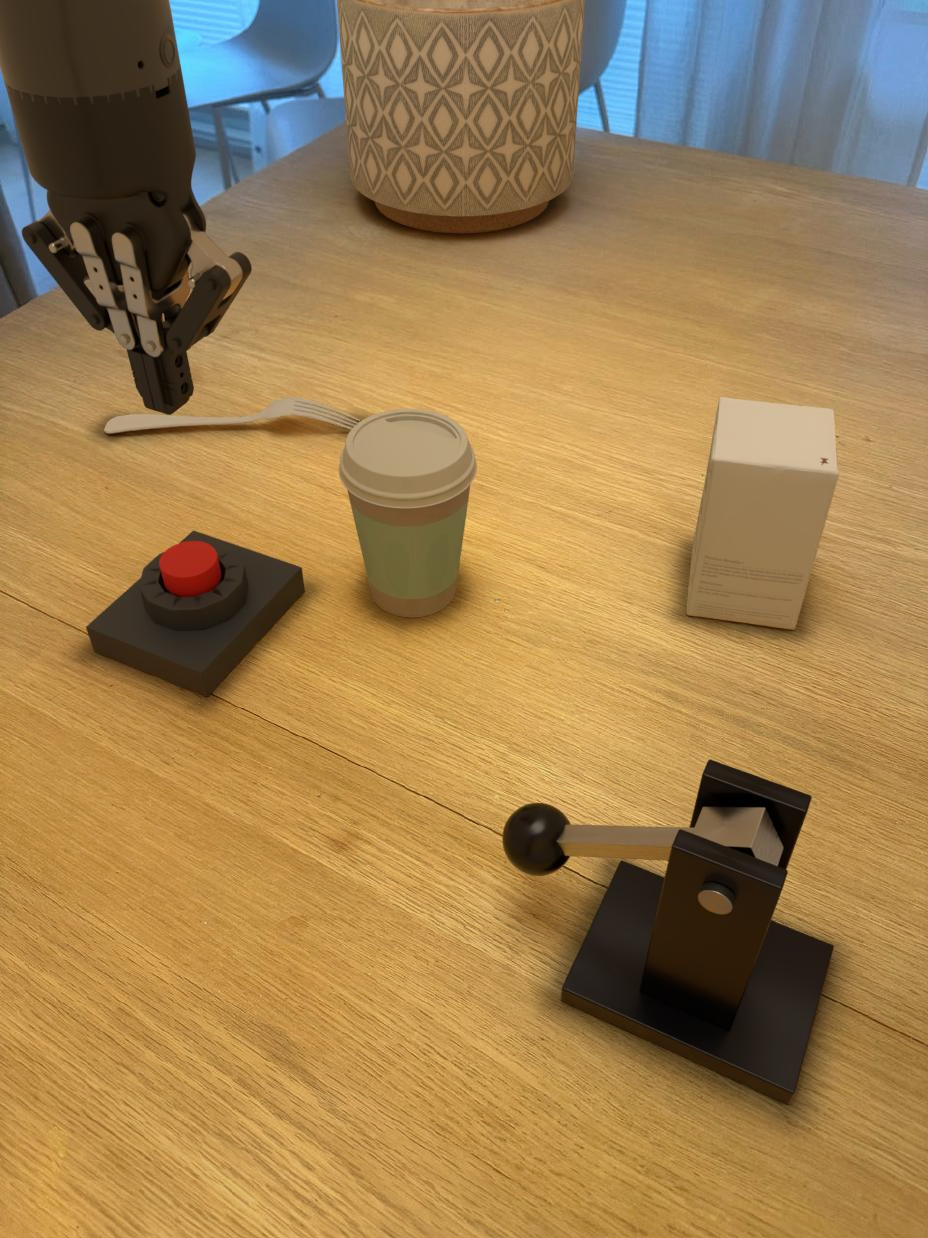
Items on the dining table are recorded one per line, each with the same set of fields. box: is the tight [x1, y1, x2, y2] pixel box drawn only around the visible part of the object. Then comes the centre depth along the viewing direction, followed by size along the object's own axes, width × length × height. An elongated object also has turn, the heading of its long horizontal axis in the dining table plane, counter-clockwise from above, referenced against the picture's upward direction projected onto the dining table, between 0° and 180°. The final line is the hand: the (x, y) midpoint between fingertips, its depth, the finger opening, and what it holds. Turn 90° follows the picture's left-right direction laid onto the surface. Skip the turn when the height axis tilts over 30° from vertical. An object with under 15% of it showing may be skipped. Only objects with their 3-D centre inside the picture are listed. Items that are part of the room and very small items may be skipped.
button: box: [159, 541, 221, 597], centre depth 67 cm, size 4×4×2 cm
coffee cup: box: [338, 408, 478, 618], centre depth 68 cm, size 9×9×12 cm
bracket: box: [560, 759, 835, 1105], centre depth 47 cm, size 11×8×13 cm
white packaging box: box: [686, 396, 840, 630], centre depth 68 cm, size 7×7×13 cm
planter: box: [336, 0, 586, 234], centre depth 115 cm, size 26×26×22 cm
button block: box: [85, 530, 306, 698], centre depth 68 cm, size 11×9×4 cm
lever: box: [501, 802, 783, 877], centre depth 47 cm, size 13×3×3 cm, turn 63°
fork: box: [103, 396, 361, 435], centre depth 87 cm, size 3×21×3 cm, turn 91°
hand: (169, 404), depth 58 cm, fingers closed
